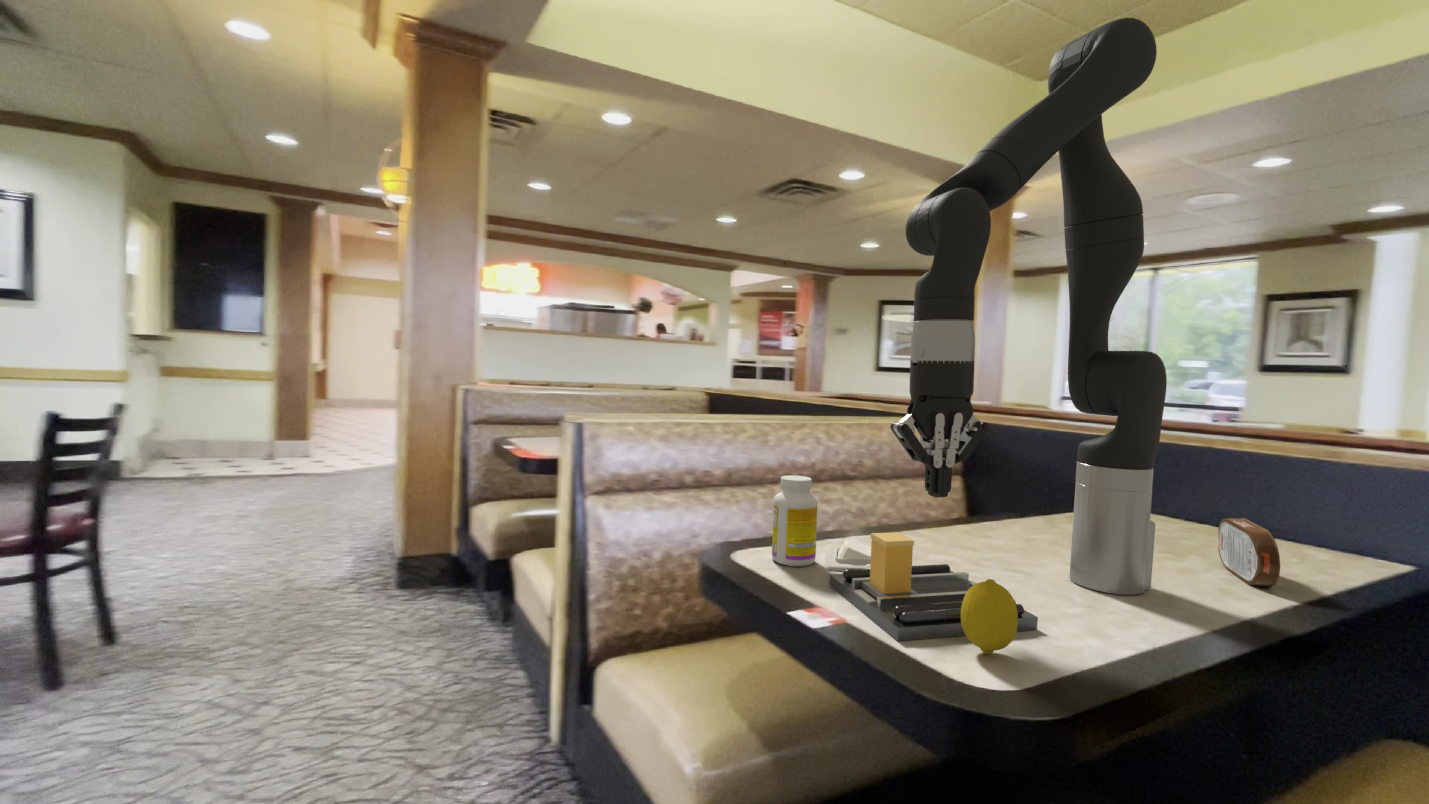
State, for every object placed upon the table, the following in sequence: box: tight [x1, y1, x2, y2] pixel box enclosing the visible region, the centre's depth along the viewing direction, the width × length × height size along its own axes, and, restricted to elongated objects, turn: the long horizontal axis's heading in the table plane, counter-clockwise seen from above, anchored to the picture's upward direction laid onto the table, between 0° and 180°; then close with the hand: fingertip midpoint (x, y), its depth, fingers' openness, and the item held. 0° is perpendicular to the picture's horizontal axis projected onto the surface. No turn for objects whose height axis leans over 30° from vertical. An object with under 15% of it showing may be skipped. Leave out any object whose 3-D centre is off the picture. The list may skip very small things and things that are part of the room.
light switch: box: [824, 538, 871, 573], centre depth 98 cm, size 11×4×13 cm
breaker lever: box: [862, 531, 918, 599], centre depth 79 cm, size 5×5×7 cm
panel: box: [828, 563, 1039, 642], centre depth 80 cm, size 18×18×3 cm
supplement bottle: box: [771, 474, 818, 567], centre depth 97 cm, size 7×7×13 cm
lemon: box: [961, 578, 1018, 655], centre depth 67 cm, size 6×6×8 cm
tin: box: [1217, 517, 1281, 588], centre depth 96 cm, size 15×3×8 cm, turn 160°
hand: (937, 495), depth 80 cm, fingers closed
